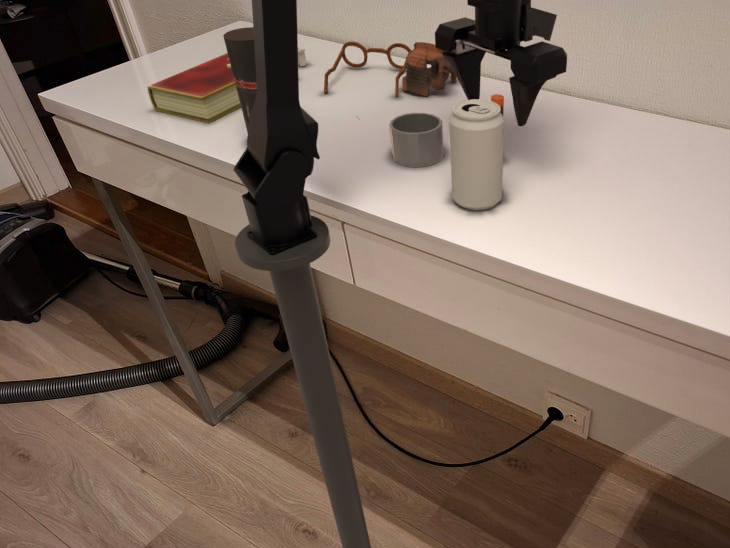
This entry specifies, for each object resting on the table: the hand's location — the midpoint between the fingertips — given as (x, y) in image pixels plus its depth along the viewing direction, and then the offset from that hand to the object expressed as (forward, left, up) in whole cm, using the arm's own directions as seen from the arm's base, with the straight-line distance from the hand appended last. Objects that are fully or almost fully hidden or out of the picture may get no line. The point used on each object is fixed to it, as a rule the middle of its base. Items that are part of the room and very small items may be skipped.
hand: (497, 115), depth 90 cm
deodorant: (-20, +28, -7) cm, 35 cm away
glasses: (+5, +38, -7) cm, 39 cm away
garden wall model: (0, +59, -7) cm, 59 cm away
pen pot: (-7, +9, -6) cm, 13 cm away
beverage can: (-10, -7, -7) cm, 13 cm away
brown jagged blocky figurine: (+11, +28, -7) cm, 31 cm away
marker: (0, 0, -6) cm, 6 cm away
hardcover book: (-16, +50, -7) cm, 53 cm away
